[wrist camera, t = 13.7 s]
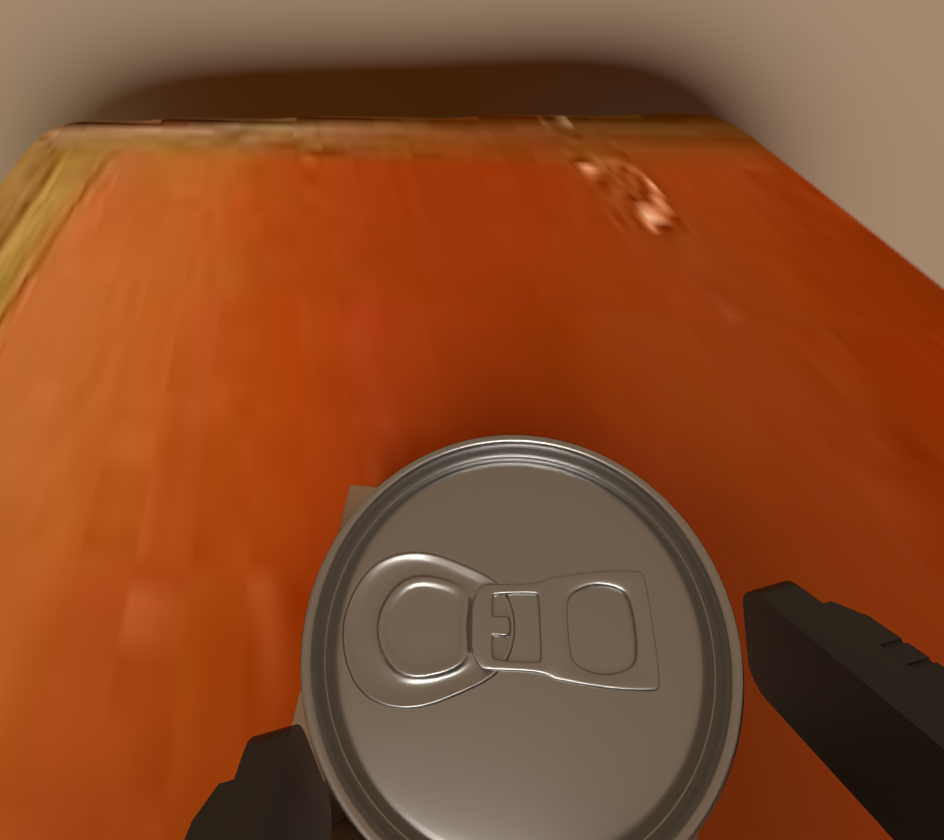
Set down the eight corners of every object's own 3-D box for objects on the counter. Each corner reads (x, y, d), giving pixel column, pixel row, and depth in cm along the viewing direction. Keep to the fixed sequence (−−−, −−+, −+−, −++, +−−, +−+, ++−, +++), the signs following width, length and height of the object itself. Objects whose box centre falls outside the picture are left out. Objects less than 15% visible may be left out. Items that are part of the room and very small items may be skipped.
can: (419, 574, 19) (313, 411, 8) (595, 575, 18) (717, 407, 8) (404, 787, 15) (199, 965, 5) (616, 794, 15) (870, 1003, 5)
